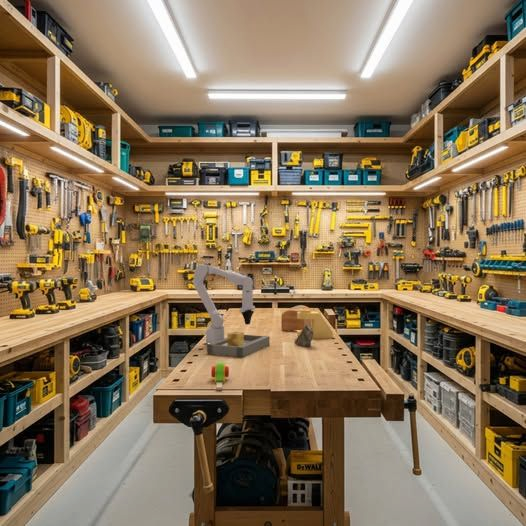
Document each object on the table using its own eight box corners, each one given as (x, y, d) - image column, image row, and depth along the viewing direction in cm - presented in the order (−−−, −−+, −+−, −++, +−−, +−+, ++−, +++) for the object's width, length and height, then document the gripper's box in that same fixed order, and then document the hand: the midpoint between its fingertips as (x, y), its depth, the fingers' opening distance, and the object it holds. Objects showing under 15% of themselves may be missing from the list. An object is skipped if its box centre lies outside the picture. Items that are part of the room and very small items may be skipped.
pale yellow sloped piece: (298, 338, 229) (298, 310, 230) (296, 335, 239) (296, 309, 239) (332, 338, 231) (332, 310, 231) (329, 335, 240) (329, 308, 240)
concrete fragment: (298, 341, 221) (298, 321, 221) (319, 348, 204) (319, 326, 204) (288, 342, 218) (288, 322, 218) (309, 349, 201) (309, 327, 201)
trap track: (207, 353, 191) (207, 344, 191) (237, 342, 219) (237, 334, 219) (242, 357, 183) (242, 347, 183) (269, 345, 211) (269, 336, 211)
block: (227, 345, 195) (227, 333, 195) (233, 343, 201) (233, 331, 201) (238, 346, 193) (238, 334, 193) (243, 344, 198) (243, 332, 198)
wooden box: (289, 324, 285) (289, 304, 285) (312, 325, 281) (312, 305, 281) (279, 330, 257) (278, 309, 257) (304, 332, 252) (304, 310, 252)
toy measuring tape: (229, 375, 155) (229, 358, 155) (228, 391, 135) (228, 372, 135) (212, 375, 154) (212, 358, 154) (209, 391, 135) (209, 372, 135)
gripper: (248, 300, 207) (248, 326, 207) (259, 298, 220) (259, 322, 220) (236, 300, 210) (236, 325, 210) (248, 297, 223) (248, 322, 223)
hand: (247, 324), depth 215 cm, fingers closed
